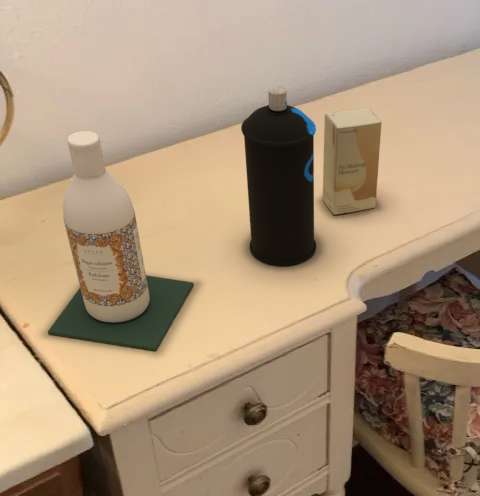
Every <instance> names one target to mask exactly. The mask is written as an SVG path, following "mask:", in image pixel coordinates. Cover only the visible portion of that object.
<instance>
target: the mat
mask: <svg viewBox="0 0 480 496" xmlns="http://www.w3.org/2000/svg"><path fill="white" fill-rule="evenodd" d="M146 278H147V285H148V291H149V297H150V300H149V304H148V306H147V308H146V310H145V311H144V312H143V313H142V314H140V315H139V316H137V317H136V318H133V319H131V320H128V321H124V322H117V323H110V322H103V321H100V320H97V319H95V318H94V317H92V316H91V315H90V314H89V313H88V312H87V310H86V307H85V304H84V300H83V296H82V292H81V288H80V287H79V288H78V290H77V291H76V292H75V294H74V295H73V296H72V298H71V299H70V300H69V302H68V303H67V305H66V306H65V307H64V308H63V310H62V311H61V313H60V314H59V315H58V317H57V319H56V320H55V321H54V322H53V324H52V325H51V326H50V328H49V329H48V331H47V333H48V335H52V336H57V337H58V336H59V337H64V338H70V339H77V340H84V341H90V342H95V343H101V344H108V345H114V346H115V345H116V346H121V347H127V348H133V349H134V348H135V349H138V350H139V349H141V350H146V351H152V352H157V350H158V349H159V346H160V344H161V343H162V341H163V339H164V338H165V336H166V334H167V332H168V331H169V329H170V327H171V326H172V323H174V320H175V319H176V317H177V315H178V313H179V311H180V309H181V308H182V306H183V304H184V303H185V301H186V299H187V298H188V296H189V294H190V292H191V291H192V289H193V287H194V285H195V284H194V282H192V281H187V280H186V281H185V280H180V279H172V278H165V277H160V276H154V275H147V274H146Z"/></svg>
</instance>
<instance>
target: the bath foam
mask: <svg viewBox="0 0 480 496" xmlns="http://www.w3.org/2000/svg"><path fill="white" fill-rule="evenodd" d="M66 140H67V146H68V150H69V156H70V159H71V164H72V168H73V171H74V173H73V175H72V177H71V179H70V180H69V182H68V185H67V188H66V189H65V192H64V196H63V201H62V217H63V224H64V227H65V232H66V236H67V239H68V243H69V248H70V251H71V256H72V260H73V263H74V268H75V272H76V275H77V280H78V284H79V288H81V292H82V296H83V300H84V304H85V307H86V310H87V312H88V313H89V314H90V315H91V316H92V317H94V318H95V319H97V320H100V321H103V322H110V323H117V322H124V321H128V320H131V319H133V318H136V317H137V316H139V315H140V314H142V313H143V312H144V311H145V310H146V308H147V306H148V304H149V300H150V297H149V291H148V285H147V278H146V275H147V274H146V267H145V263H144V255H143V251H142V244H141V239H140V234H139V227H138V222H137V217H136V212H135V208H134V204H133V202H132V199H131V197H130V195H129V193H128V192H127V190H126V188H125V187H124V186H123V185H122V184H121V182H120V181H119V180H118V179H117V178H115V176H114V175H113V174H111V173H110V172H109V171H108V170H107V169H106V165H105V159H104V154H103V149H102V143H101V139H100V136H99V134H97V133H96V132H94V131H88V130H82V131H76V132H74V133H72V134H70V135H69V136H68V137H67V139H66Z"/></svg>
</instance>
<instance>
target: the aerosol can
mask: <svg viewBox="0 0 480 496" xmlns="http://www.w3.org/2000/svg"><path fill="white" fill-rule="evenodd" d="M287 91H288V90H287V89H286V88H285V87H283V86H277V85H275V86H272V87H269V88H268V90H267V95H268V104H267V105H263V106H261V107H259V108H256V109H255V110H254V111H253V112H252V113H251V114H250V115H249V116H248V117H246V118H245V119H244V120H243V122H242V123H241V127H240V128H241V129H240V130H241V133H242V135H243V139H244V140H243V141H244V153H245V168H246V183H247V184H246V185H247V198H248V212H249V213H248V215H249V228H250V241H249V246H248V247H249V251H250V253H251V255H252V256H253V257H254V258H255V259H256V260H258V261H260V262H262V263H264V264H268V265H272V266H280V267H281V266H284V267H285V266H293V265H298V264H301V263H304V262H306V261H307V260H309V259H310V258H312V256H313V255H314V254H315V253H316V251H317V242H316V239H315V180H314V179H315V160H314V159H315V156H314V155H315V152H314V151H315V147H314V146H315V145H314V143H315V141H314V139H315V138H314V136H315V134H316V131H317V125H316V124H315V122H314V121H313V120H312V119H311V118H310V117H309V116H308V115H306V113H304V112H303V111H302V110H301V109H299V108H297V107H295V106H292V105H288V102H287V101H288V100H287V97H288V96H287Z"/></svg>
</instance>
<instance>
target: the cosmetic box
mask: <svg viewBox="0 0 480 496" xmlns="http://www.w3.org/2000/svg"><path fill="white" fill-rule="evenodd" d="M323 127H324V128H323V129H324V131H323V133H324V134H323V166H322V200H323V202H324V203H325V205H326V207H327V208H328V209H329V211H330V212H331V213H332V214H333V215H340V214H341V215H342V214H346V213H354V212H358V211H364V210H368V209H369V210H370V209H375V208H376V207H377V206H376V205H377V193H378V192H377V190H378V178H379V163H380V149H381V135H382V121H381V119H380V118H379V117H378V115H376V114H375V112H374V111H373V110H372V109H371V108H370V107H365V108H357V109H346V110H341V111H333V112H325V113H324V126H323Z"/></svg>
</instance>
